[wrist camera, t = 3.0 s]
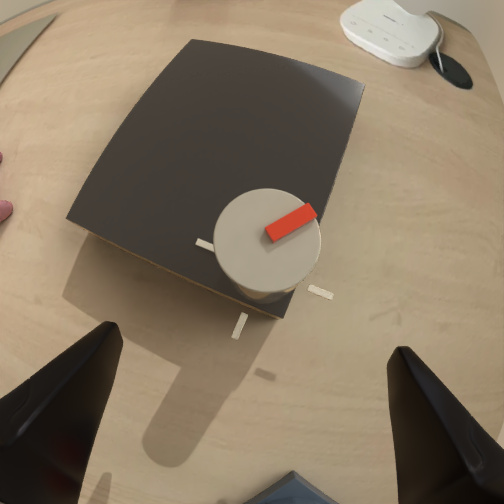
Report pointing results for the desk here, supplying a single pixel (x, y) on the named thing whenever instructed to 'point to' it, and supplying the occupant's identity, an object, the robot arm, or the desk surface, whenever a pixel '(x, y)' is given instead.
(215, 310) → the desk surface
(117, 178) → the hob panel
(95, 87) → the desk surface
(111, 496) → the desk surface
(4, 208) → the video game controller
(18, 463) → the robot arm
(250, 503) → the button box
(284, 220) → the stove knob
